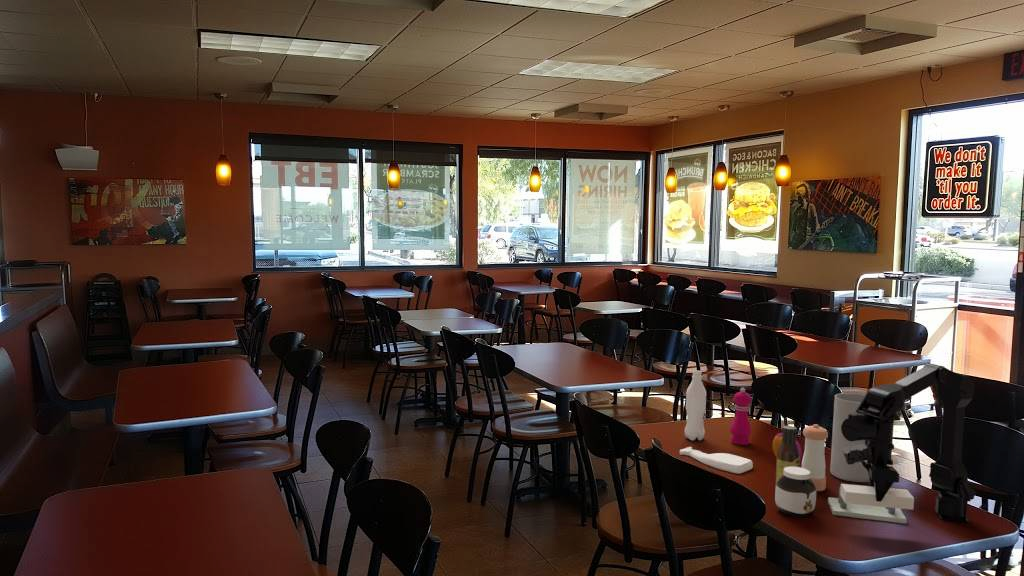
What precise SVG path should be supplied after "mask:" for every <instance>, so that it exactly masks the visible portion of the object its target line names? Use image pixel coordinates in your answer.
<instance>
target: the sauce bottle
mask: <svg viewBox="0 0 1024 576" xmlns="http://www.w3.org/2000/svg"><path fill="white" fill-rule="evenodd" d="M797 429H798V428H797V427H795V426H792V425H783V426H782V427H781V433H782V443H781V445H780V446H779V448H778V450H777V457H776V466H775V467H776V470H775V485H776V484H777V481H778V480H779V478H780V477H782V476H783V475H784V474H783V472H784V468H785V467H800V461H801V459H800V454H799V451H798V448H797V445H796V441H797V431H798V430H797Z"/></svg>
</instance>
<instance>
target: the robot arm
mask: <svg viewBox="0 0 1024 576" xmlns="http://www.w3.org/2000/svg"><path fill="white" fill-rule="evenodd" d="M933 385H936V387H937V389H936V390H937V395H938V397H939V399H940V402H941V403H942V405H943V407H942V408H943V409H942V422H941V435H940V450H939V457H938V458H937V459H936V460H935V462H931V463H930V464H929V466H930V467H929V469H930V470H929V475H928V477H930V482H931V485H932V488H933V489H932V490H933V491H935V492H938V496H936V497H935V508H934V512H935V513H936V514H937V515H938V516H939V518H940V519H941V520H945V521H951V522H952V521H954V522H962V523H969V519H968V518H967V516H968V513H967V512H968V502H971V501H972V500H974V499H975V496H976V494H977V492H976V490H975V489H974V488H973V486H972V485H971V483H970V482H969V480H968V479H969V478H968V476H969V475H968V470H967V468H966V466H965V464H964V463H963V461H962V458H963V457H962V456H963V444H964V443H963V440H964V428H965V415H966V414H965V413H966V407H968V405H969V403H970V402H972V400H973V398H974V394H975V389H976V382H975V380H974V379H973V377H972V376H970V375H967V374H961V373H957V372H954V371H953V370H951V369H948V368H947V367H945V366H943V365H938V364H934V363H927V364H924V366H923V367H921V368H920V369H918V370H916V371H914V372H913V373H910V374H908V375H907V376H905V377H903V378H901V379H899V380H897V381H896V382H892V383H888V384H880V385H877V386H873V387H871V388H870V389H868V390H867V392H866V394H865V395H866V396H865V397H864V399H863V401H862V402H861V404H860V405H859V407H858V408H857V410H856V413H859V414H853V413H851V414H849V415H848V418H847V419H845V420H844V421H843V423H842V425H841V431H842V434H843V436H844V437H845V439H847V440H848V441H860V440H865V441H864V444H860V445H854V446H850V447H845V448H843V449H842V451H843V454H844V457H845V460H846V462H847V464H849V465H851V464H854V463H857V462H861V463H862V465H863V466H864V467H865V468H866V469H867V470H868V475H869V485H870V486H871V487H875V495H876V501H879V502H881V501H882V499H883V498H884V496H885V495H886V493H887V492H888V490H889V489H890V488H892V486H893V485H894V483H900V473H899V472H898V471H897V469H896V468H895V467H894V466H893V465H894V461H893V459H892V456H893V455H892V453H893V450H894V449H895V445H894V443H893V442H894V441H893V439H894V437H893V436H894V425H895V422H897V421H899V422H900V421H901V417H900V416H899V415H898V414H897V413H898V411H900V410H901V409H902V408H903V407H904V406H905V404H906V401H907V400H908V399H910V398H911V397H914V396H915V395H917V394H918V393H920V392H921V393H922V392H923V391H925V390H926V389H928V388H930V387H932V386H933ZM869 408H871V409H873V410H877V411H878V412H876V411H873V410H870V409H869ZM864 461H865V462H864Z"/></svg>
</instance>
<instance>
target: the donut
mask: <svg viewBox="0 0 1024 576" xmlns="http://www.w3.org/2000/svg"><path fill="white" fill-rule="evenodd" d="M781 443H782V432H781V433H780V432H778V433H776V434H775V436H774V437H773V441H772V451H773V453H774V456H775V457H776V458H777V450H778V448H779V446H780V445H781ZM796 445H797V448H798V451H799V454H800V460H801V458H802V447H801V445H800V444H799V441H798V440H796Z"/></svg>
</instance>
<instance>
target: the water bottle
mask: <svg viewBox="0 0 1024 576" xmlns="http://www.w3.org/2000/svg"><path fill="white" fill-rule="evenodd" d="M691 378H692V379H691V382H690V384H689V385H688V387H687V389H686V392H685V393H686V394H685V395H686V397H685V399H686V400H685V410H686V417H687V418H686V425H685V427H684V436H685V438H686V439H689V440H690V441H695V440H696V439H697V441H702V440H703V438H704V437H705V434H706V433H705V432H706V430H705V427H704V426H705V425H704V415H705V413H706V410H707V408H706V404H707V390H706V388H705V386H704V384H703V381H702V378H703V377H702V370H697V369H695V370H693V371H692V376H691Z"/></svg>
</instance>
